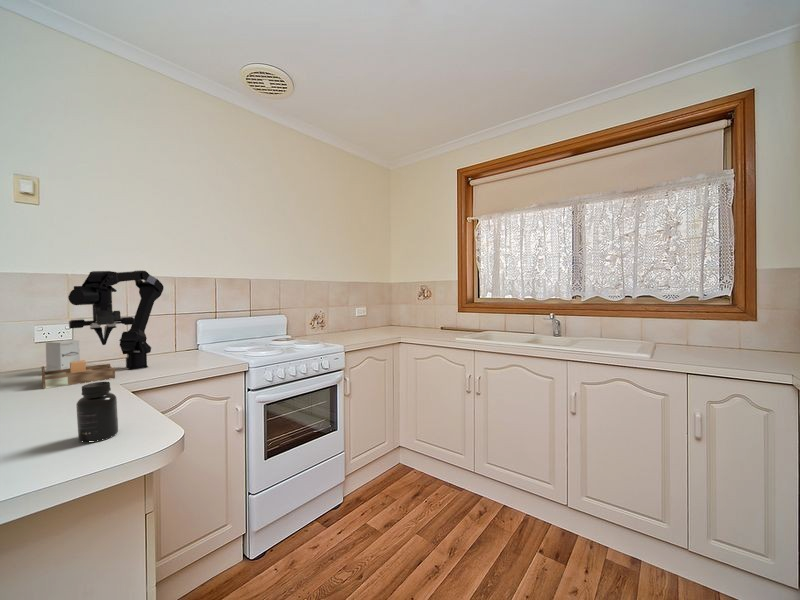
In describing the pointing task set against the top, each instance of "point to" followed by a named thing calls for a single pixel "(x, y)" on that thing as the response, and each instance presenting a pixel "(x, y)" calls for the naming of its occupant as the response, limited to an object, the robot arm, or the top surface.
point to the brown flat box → (76, 376)
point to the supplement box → (61, 354)
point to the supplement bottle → (97, 412)
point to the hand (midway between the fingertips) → (103, 344)
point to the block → (77, 366)
